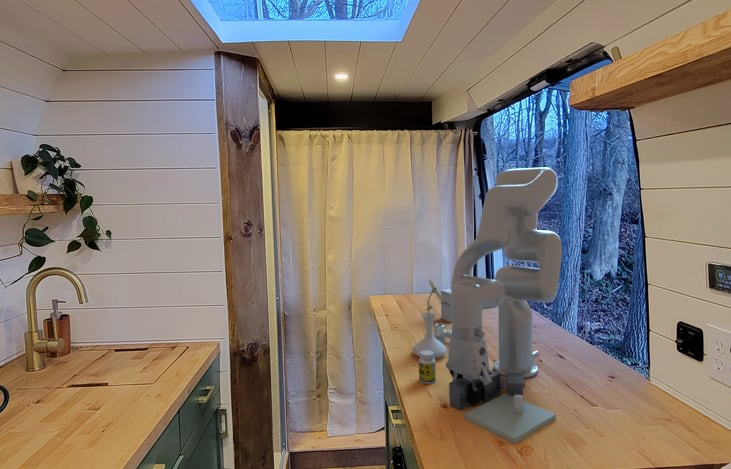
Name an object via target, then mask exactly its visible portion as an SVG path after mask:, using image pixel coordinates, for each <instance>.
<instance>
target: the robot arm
mask: <svg viewBox="0 0 731 469" xmlns="http://www.w3.org/2000/svg"><path fill="white" fill-rule="evenodd" d="M557 176H558V175H557V174H556V172H555V171H554V170H553V168H551V167H546V166H545V167H527V168H526V167H525V168H511V169H505V170H502V171H501V172H499V173H498V174H497V175H496V177H495V178H496V179H495V186H493V187H491V188H489V189H488V190H487V192H486V194H485V197H484V201H483V206H482V211H481V217H480V220H479V224H478V225H479V226H478V230H477V235H476V238H475V239H474V240H473V241H471V243H470V244H469V245H468V246H467V247H466V248H465V249H464V251H463V252H462V253H461V254H460V255H459V257H458V258H457V260H456V262H455V265H454V269H453V272H452V273H453V274H452V279H451V283H450V284H451V285H450V288H451V306H452V323H451V331H452V334H451V336H450V338H449V344H448V361H447V362H446V363H445V367H446V368H447V370H448V372H449V374H450V375H451V377H452V381H455V380H457V379H460V378H462V377H464V376H466V377H468V378H471V383H472V388H473V390H471V406H477V405H478V404H480V403H482V401H481V389H482V388H483V387H484V386H485V385H487V384H489V383H491V382H492V380H491V378H490V376H489V369H490V364H489V362H490V361H489V354H488V353H489V352H488V346H487V341H486V339H485V335H486V333H485V332H484V331H483V310H488V309H495V308H498V360H495V361H494V363H493V369H494V371H495V372H498V373H500V375H501V376H504V377H506V372H508V373H522V375H523V379H525V378H527V379H528V378H531V377H532V378H533V377H534V376H535V375H537V374H539V373H538V372H539V367H538V365H536V363H534V361H535V359H536V358H539V357H540V356H541V354H540V352H539V351H538V350H534V351H533V312H532V309H531V306H530V304H529V303H528V301H529V302H530V301H531V302H536V303H543V304H544V303H552V302H553V301H554V300H555V299H556V297H557V295H558V290H559V284H560V273H561V265H562V256H563V255H562V254H563V245H562V244H563V243H562V241H561V240H562V239H561V237H560V236H559V234H558V233H556V232H554V231H551V230H542V229H541V230H540V229H539V230H538V219H539V214H538V213H539V212H541V210H542V208H543V207H544V206H545V205H546V204H547V203H548V201H550V199H551V198H552V197H553V196H554V195H555V193H556V191H557V188H558V177H557ZM503 249H504V250H503ZM500 250H503V251H504V255H505V257H506V258H507V259H509V260H511V261H514V262H522V263H529V264H530V263H531V264H538V266H539V267H531V266H522V265H504V266H502V267H500V268H499V269H498V270H497V271H496V273H495V275H494V279H492V278H487V277H486V278H485V277H481V276H480V277H479V276H471V273H472V270H473V269H474V266H475V265H476V263H477V262H478V261H480V259H483V257H485V256H487V255H489V254H492V253H494V252H496V251H500ZM481 375H482V377H483V381H482V377H481ZM476 380H477V381H478V384H477V383H476Z"/></svg>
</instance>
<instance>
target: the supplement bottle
mask: <svg viewBox="0 0 731 469" xmlns="http://www.w3.org/2000/svg"><path fill="white" fill-rule="evenodd" d="M436 369H437V368H436V358H434V352H432V351H429V350H424V351H421V352H420V357H419V359H418V376H419V377H418V381H419V382H420V383H422V384H428V385H430V384H434V383H436V380H437V379H436V378H437V377H436V375H437V374H436V372H437V371H436Z"/></svg>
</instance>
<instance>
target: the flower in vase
mask: <svg viewBox="0 0 731 469" xmlns="http://www.w3.org/2000/svg"><path fill="white" fill-rule="evenodd" d="M428 283H429V285H430V287H431V292H430V293H429V296H428V299H427V301H426V303H427V308H426V309H425V311H427V312H424V313H421V314H420V316H421V317H422V319H423V320H424V325H425V336H424V337H423V338H422V339H421V340H419V341H418V342H417V343H415V345H414V346H413V347H412V352H413V354H414V355H415V356H416V357H419V358H420V352H421V351H424V350H429V351H432V352H434V359H437V358H440V357H443V356H446V354H447V352H448V350H447V347H446V346H445V345H444V344H442V343H441V342H440V341H438V340H437V339H436V338H435V336H434V331H433V329H434V328H433V327H434V322H435V318H436V317H437V313H435V312H434V313H433V312H430V310H432V309H433V306H432V305H431V304H430V298H431V297H432V294H433V293H435V295H436V296H437V298H438V299H439V301H441V300H442V297H441V293H440V292H439V291H438V288H437V287H436V286H435V285H434V281H432V280H431V279H429V280H428Z"/></svg>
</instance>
